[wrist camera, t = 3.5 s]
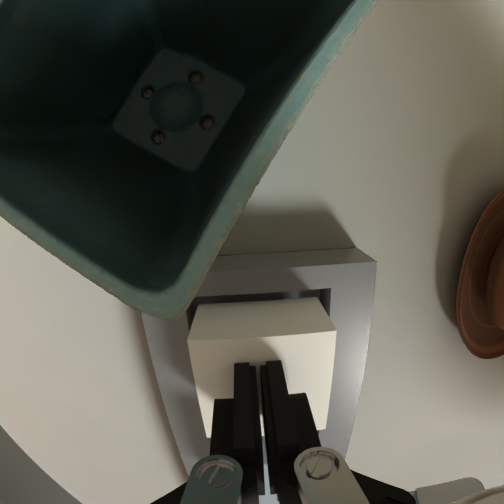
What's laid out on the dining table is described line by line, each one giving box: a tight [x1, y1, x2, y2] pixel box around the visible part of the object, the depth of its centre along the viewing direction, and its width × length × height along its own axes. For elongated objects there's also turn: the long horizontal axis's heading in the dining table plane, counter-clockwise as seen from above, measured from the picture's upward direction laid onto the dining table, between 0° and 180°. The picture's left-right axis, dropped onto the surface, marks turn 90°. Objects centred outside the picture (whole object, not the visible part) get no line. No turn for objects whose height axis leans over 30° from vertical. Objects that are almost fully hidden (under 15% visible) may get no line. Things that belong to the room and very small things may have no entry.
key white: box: [187, 297, 337, 438], centre depth 12 cm, size 5×5×3 cm
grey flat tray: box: [141, 248, 377, 476], centre depth 16 cm, size 10×22×2 cm, turn 3°
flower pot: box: [0, 0, 378, 320], centre depth 8 cm, size 9×9×9 cm
